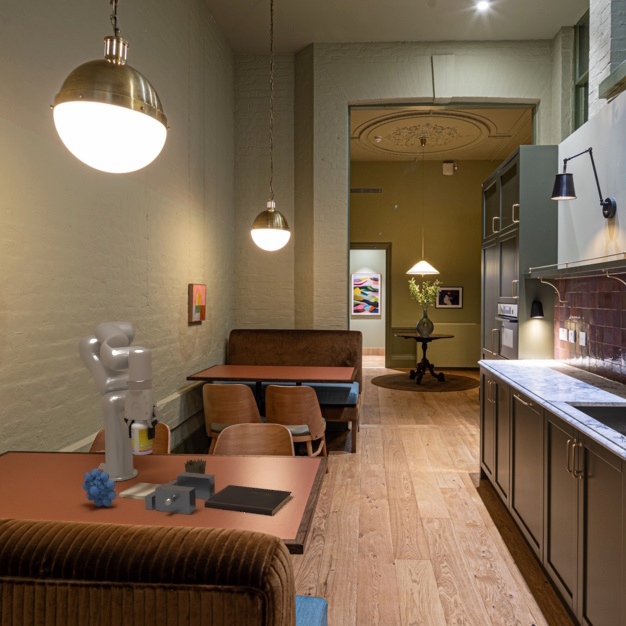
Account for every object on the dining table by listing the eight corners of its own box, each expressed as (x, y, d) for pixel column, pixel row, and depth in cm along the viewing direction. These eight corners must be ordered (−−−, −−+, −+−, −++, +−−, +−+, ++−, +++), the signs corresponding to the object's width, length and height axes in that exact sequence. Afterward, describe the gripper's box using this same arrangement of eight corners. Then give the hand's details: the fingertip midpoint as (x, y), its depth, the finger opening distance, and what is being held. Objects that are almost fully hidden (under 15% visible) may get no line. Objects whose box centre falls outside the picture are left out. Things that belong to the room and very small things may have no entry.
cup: (201, 488, 183) (200, 465, 183) (181, 487, 184) (180, 464, 184) (209, 481, 190) (209, 459, 190) (190, 480, 192) (190, 458, 191)
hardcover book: (229, 491, 182) (228, 484, 181) (291, 498, 174) (291, 491, 174) (204, 509, 166) (204, 501, 166) (271, 518, 159) (271, 510, 159)
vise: (139, 512, 163) (139, 490, 163) (173, 491, 181) (173, 471, 180) (184, 518, 158) (183, 495, 158) (214, 496, 176) (214, 475, 176)
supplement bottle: (156, 450, 182) (155, 413, 181) (144, 456, 175) (143, 417, 175) (140, 449, 184) (139, 412, 183) (127, 454, 177) (126, 416, 177)
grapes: (74, 510, 165) (73, 472, 165) (88, 502, 172) (87, 465, 172) (108, 513, 163) (107, 474, 163) (120, 504, 170) (119, 467, 169)
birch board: (119, 497, 176) (119, 493, 176) (139, 485, 187) (139, 482, 187) (147, 500, 173) (147, 496, 173) (166, 488, 183) (166, 485, 183)
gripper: (111, 386, 178) (113, 439, 179) (156, 387, 173) (157, 442, 173) (126, 382, 185) (127, 433, 186) (169, 384, 180) (170, 436, 180)
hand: (142, 437), depth 179 cm, fingers closed on supplement bottle, 6 cm apart
